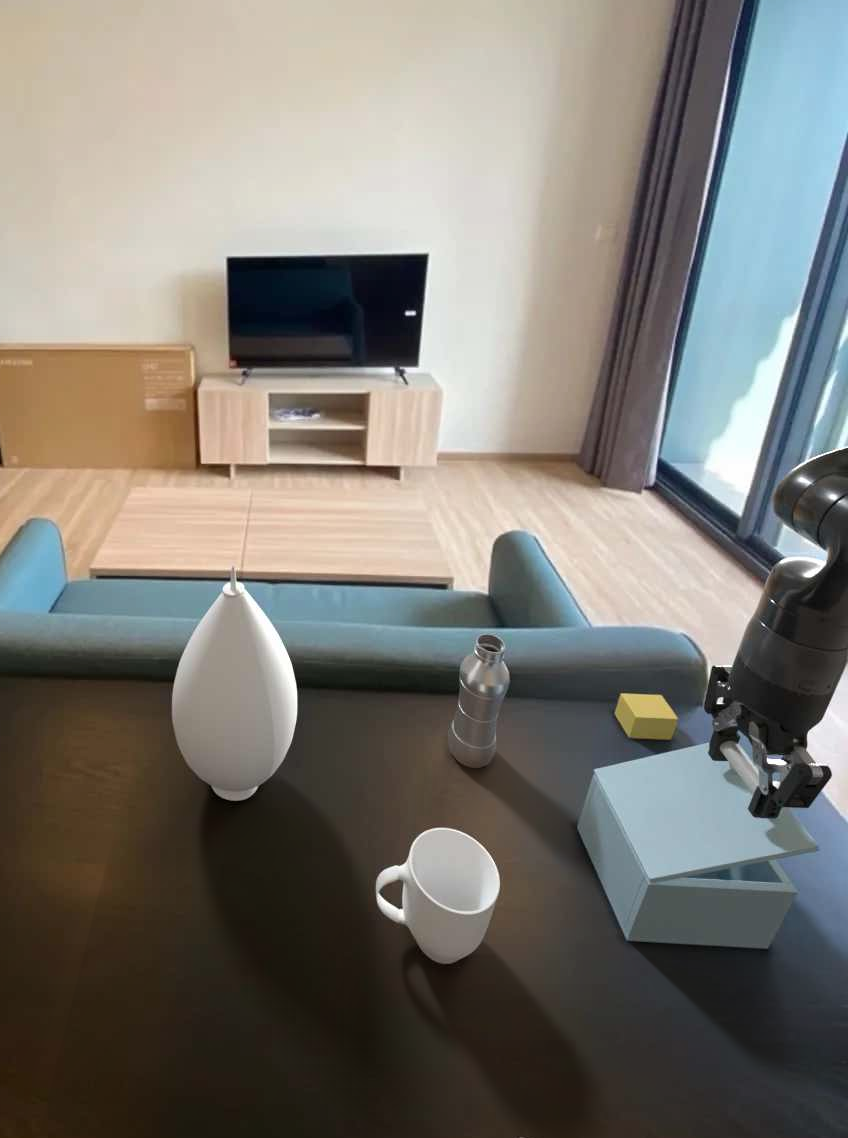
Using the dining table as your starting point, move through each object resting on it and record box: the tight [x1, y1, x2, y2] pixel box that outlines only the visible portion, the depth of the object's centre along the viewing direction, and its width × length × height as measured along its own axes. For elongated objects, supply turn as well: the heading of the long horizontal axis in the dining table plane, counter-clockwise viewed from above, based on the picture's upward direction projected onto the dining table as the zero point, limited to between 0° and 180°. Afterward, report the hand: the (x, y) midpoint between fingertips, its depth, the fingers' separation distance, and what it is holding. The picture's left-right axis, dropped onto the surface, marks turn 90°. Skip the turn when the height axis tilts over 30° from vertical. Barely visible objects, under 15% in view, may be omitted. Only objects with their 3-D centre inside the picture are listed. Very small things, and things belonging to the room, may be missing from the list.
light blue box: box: [577, 774, 799, 950], centre depth 73 cm, size 15×13×10 cm
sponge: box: [614, 693, 679, 741], centre depth 95 cm, size 6×4×4 cm
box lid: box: [593, 741, 820, 884], centre depth 69 cm, size 16×13×5 cm
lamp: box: [171, 564, 298, 802], centre depth 81 cm, size 16×16×35 cm
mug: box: [375, 827, 501, 965], centre depth 68 cm, size 12×9×12 cm
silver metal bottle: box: [447, 633, 511, 769], centre depth 88 cm, size 6×7×20 cm
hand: (738, 784), depth 68 cm, fingers closed on box lid, 6 cm apart
